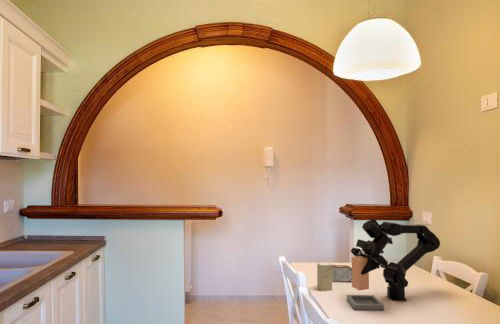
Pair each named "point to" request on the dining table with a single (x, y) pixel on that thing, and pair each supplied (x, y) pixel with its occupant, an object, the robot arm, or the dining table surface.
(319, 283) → the skincare box
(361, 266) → the peach square prism
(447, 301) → the dining table surface
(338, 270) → the tin
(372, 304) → the tray
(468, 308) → the dining table surface
